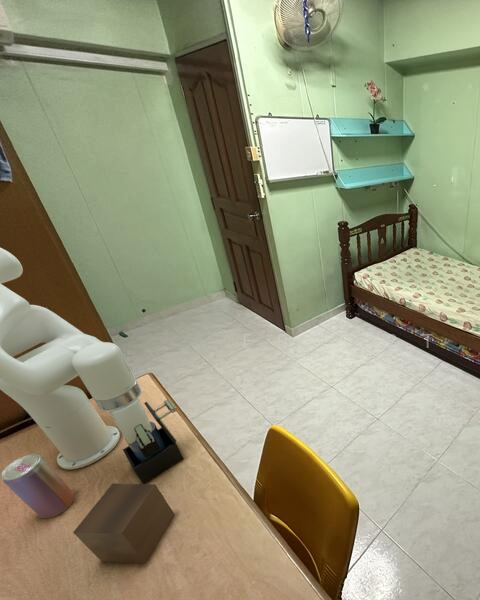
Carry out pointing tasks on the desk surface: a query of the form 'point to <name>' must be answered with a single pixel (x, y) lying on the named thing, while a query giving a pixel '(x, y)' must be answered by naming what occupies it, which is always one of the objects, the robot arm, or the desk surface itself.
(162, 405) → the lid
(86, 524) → the stand
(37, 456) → the beverage can
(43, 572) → the desk surface
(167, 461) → the wash box
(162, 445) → the cup
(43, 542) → the desk surface
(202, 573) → the desk surface
